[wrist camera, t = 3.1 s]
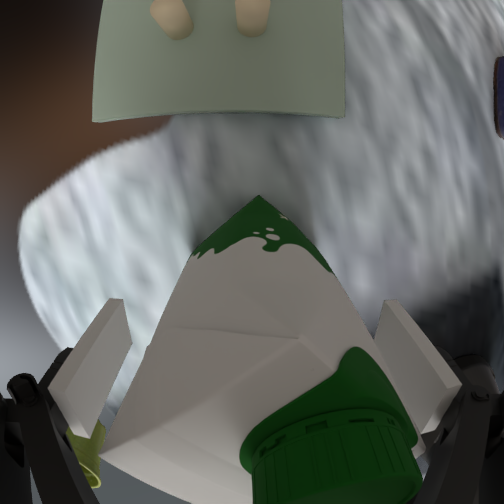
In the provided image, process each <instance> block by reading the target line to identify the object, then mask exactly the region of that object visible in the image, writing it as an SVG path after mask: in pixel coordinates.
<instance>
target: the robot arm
mask: <svg viewBox="0 0 504 504" xmlns="http://www.w3.org/2000/svg"><path fill="white" fill-rule="evenodd" d="M374 342H375V344H376V346H377V348H378V350H379V352H380V353H381V355H382V357H383V359H384V361H385V363H386V365H387V367H388V369H389V371H390V373H391V375H392V377H393V379H394V381H395V383H396V385H397V387H398V389H399V391H400V393H401V395H402V397H403V400H404V402H405V404H406V406H407V408H408V410H409V412H410V414H411V416H412V418H413V420H414V422H415V425H416V427H417V429H418V431H419V433H420V435H421V438H422V440H423V442H424V444H425V446H426V450H425V452H424V453H423V454H421V455H420V456H421V457H422V458H423V459H424V460H425V461H426V462H427V463H428V465H429V468H428V470H427V473H426V476H425V478H424V480H423V483H422V487H421V488H420V490H419V491H418V493H417V494H416V495H415V496H414V497H413V498H412V499H410V500H409V501H408V502H407V503H405V504H504V391H503V392H502V394H500V392H499V389H498V387H497V384H496V381H495V375H494V372H493V370H492V368H491V367H490V365H489V364H488V363H487V362H486V361H485V359H484V358H482V357H481V356H478V355H467V356H463V357H460V358H457V359H455V360H453V359H452V357H451V356H450V355H449V353H448V352H447V351H445V350H444V349H442V348H441V347H440V346H437V347H434V346H433V344H432V343H431V342H430V340H429V339H428V338H427V337H426V335H425V334H424V333H423V331H422V330H421V329H420V328H419V326H418V325H417V324H416V323H415V321H414V320H413V319H412V318H411V316H410V315H409V314H408V313H407V312H406V310H405V309H404V308H403V307H402V305H401V304H400V303H399V302H398V301H397V300H384V303H383V307H382V311H381V315H380V319H379V323H378V327H377V331H376V334H375V338H374ZM131 345H132V340H131V335H130V331H129V326H128V322H127V317H126V312H125V307H124V302H123V299H113V298H109V300H108V301H107V302H106V304H105V305H104V306H103V308H102V309H101V310H100V312H99V313H98V315H97V316H96V317H95V319H94V320H93V321H92V323H91V324H90V326H89V327H88V328H87V330H86V331H85V333H84V334H83V335H82V337H81V338H80V340H79V341H78V343H77V344H76V346H75V347H74V348H68V347H67V348H66V349H65V350H63V351H62V352H61V353H59V354H58V356H57V357H56V359H55V360H54V363H52V364H51V366H50V369H48V370H47V372H46V373H45V375H44V376H43V378H42V379H41V381H40V382H39V384H37V382H36V380H35V378H34V376H32V375H31V374H27V373H22V374H18V375H16V376H14V377H13V378H12V379H10V381H9V382H8V384H7V390H8V392H9V394H10V395H11V397H12V399H5V398H3V396H2V395H1V393H0V504H33V503H32V493H31V480H30V468H31V471H32V474H33V478H34V481H35V484H36V487H37V490H38V493H39V495H40V498H41V501H42V503H43V504H100V503H99V502H98V500H97V498H96V496H95V494H94V492H93V491H92V488H91V487H90V485H89V483H88V481H87V478H86V476H85V474H84V472H83V470H82V468H81V466H80V464H79V461H78V459H77V457H76V454H75V452H74V450H73V447H72V445H71V442H70V440H69V437H68V436H67V434H66V431H67V429H68V427H70V429H71V430H72V432H73V434H74V435H78V436H81V437H85V438H89V439H90V437H91V435H92V432H93V430H94V427H95V425H96V423H97V420H98V418H99V415H100V413H101V411H102V408H103V406H104V404H105V402H106V399H107V397H108V395H109V392H110V390H111V388H112V386H113V383H114V381H115V379H116V377H117V375H118V373H119V370H120V368H121V366H122V364H123V362H124V360H125V358H126V355H127V353H128V351H129V349H130V347H131Z"/></svg>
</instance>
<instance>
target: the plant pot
mask: <svg viewBox="0 0 504 504" xmlns="http://www.w3.org/2000/svg"><path fill="white" fill-rule="evenodd" d="M105 433H106V429H105V427H104V426H103V425H102V424H101V423H100V421H99V419H98V420H97V423H96V425H95V427H94V430H93V432H92V435H91V437H90V439H89V438H85V437H81V436H78V435H74V434H73V432H72V430H71V429H70V427H68V429H67V431H66V434H67V436H68V437H69V440H70V442H71V445H72V447H73V450H74V452H75V454H76V457H77V459H78V461H79V464H80V466H81V468H82V470H83V472H84V474H85V476H86V478H87V481H88V483H89V485H90V487H91V488H98V487H99V486H100V485H101V479H100V478H99V475H100V470H99V465H100V459H101V458H100V457H99V456H98V453H99V451H100V450H101V448H102V446H103V443H104V439H105Z"/></svg>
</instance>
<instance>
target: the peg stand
mask: <svg viewBox="0 0 504 504" xmlns="http://www.w3.org/2000/svg"><path fill="white" fill-rule="evenodd" d="M92 106H93V107H92V122H107V121H114V120H122V119H131V118H140V117H150V116H162V115H176V114H195V113H274V114H293V115H307V116H319V117H330V118H343V117H345V52H344V27H343V10H342V0H104V1H103V7H102V12H101V18H100V25H99V33H98V40H97V48H96V59H95V69H94V85H93V105H92Z"/></svg>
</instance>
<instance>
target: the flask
mask: <svg viewBox="0 0 504 504" xmlns="http://www.w3.org/2000/svg"><path fill="white" fill-rule="evenodd" d="M494 66H495V67H494V78H493V79H494V80H493V83H494V114H495V116H494V121H495V126H496V133H497V134H498V136H499V137H500V138H503V139H504V56H503V57H497V59H496V62H495V65H494Z"/></svg>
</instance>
